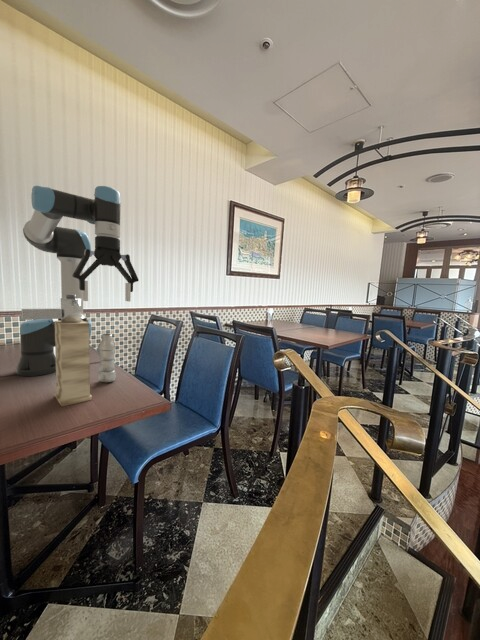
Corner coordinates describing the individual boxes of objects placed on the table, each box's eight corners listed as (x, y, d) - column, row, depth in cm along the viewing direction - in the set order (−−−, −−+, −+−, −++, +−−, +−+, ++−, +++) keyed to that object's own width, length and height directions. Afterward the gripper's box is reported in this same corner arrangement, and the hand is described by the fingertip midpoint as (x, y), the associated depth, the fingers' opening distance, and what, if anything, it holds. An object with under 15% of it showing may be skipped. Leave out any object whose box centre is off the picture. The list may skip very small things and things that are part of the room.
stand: (54, 395, 93) (52, 320, 91) (83, 390, 100) (82, 319, 97) (61, 406, 86) (59, 324, 83) (92, 399, 92) (91, 323, 89)
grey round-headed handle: (21, 322, 83) (20, 293, 82) (79, 320, 94) (78, 294, 93) (23, 325, 79) (22, 294, 78) (84, 322, 90) (83, 295, 89)
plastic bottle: (109, 385, 106) (108, 336, 104) (94, 383, 107) (93, 334, 105) (119, 380, 112) (119, 333, 110) (105, 378, 114) (105, 332, 112)
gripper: (66, 228, 76) (67, 301, 79) (148, 242, 94) (147, 302, 96) (60, 231, 81) (62, 299, 84) (139, 244, 99) (138, 300, 101)
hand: (107, 301), depth 90 cm, fingers open, 13 cm apart
